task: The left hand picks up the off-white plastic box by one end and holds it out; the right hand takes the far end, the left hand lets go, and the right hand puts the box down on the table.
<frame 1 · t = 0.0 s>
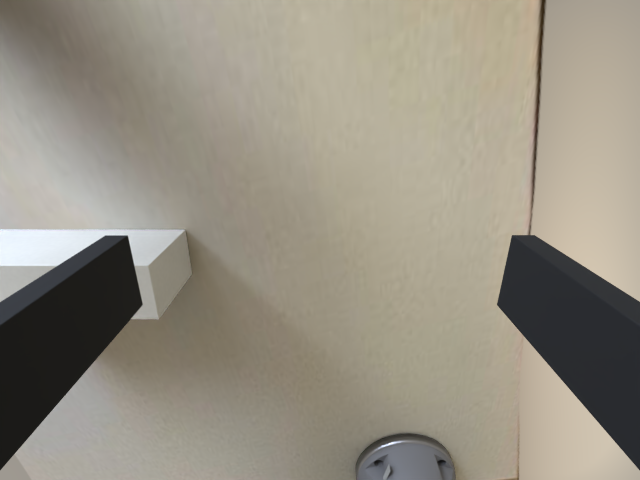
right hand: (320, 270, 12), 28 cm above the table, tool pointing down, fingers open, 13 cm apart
box: (97, 252, 43), on the table
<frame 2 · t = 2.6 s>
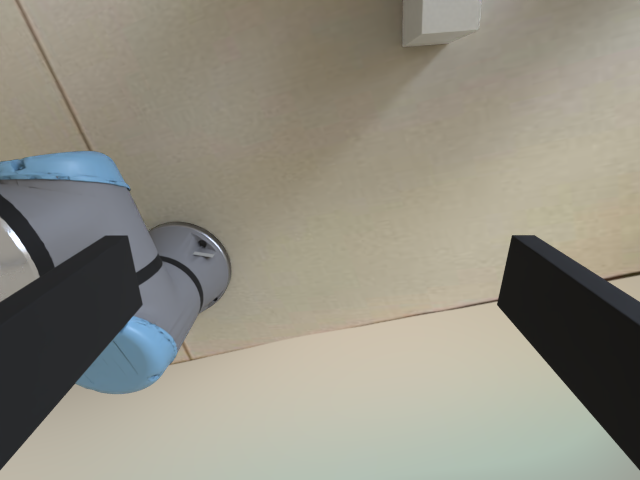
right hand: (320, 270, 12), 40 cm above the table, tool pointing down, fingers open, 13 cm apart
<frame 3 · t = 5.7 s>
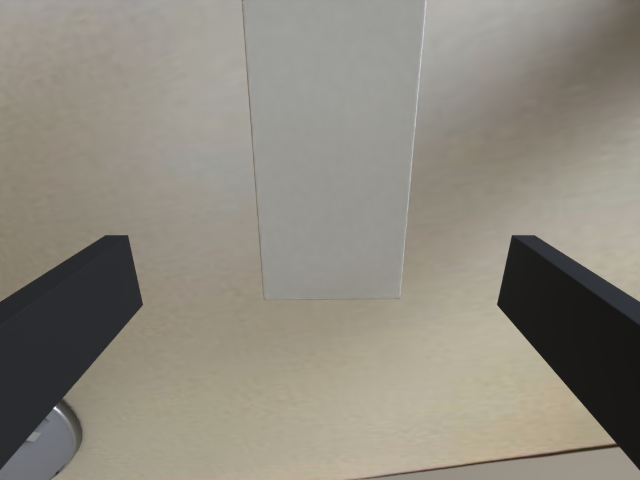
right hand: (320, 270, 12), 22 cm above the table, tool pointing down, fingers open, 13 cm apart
box: (326, 42, 20), point 10 cm above the table, touching left hand
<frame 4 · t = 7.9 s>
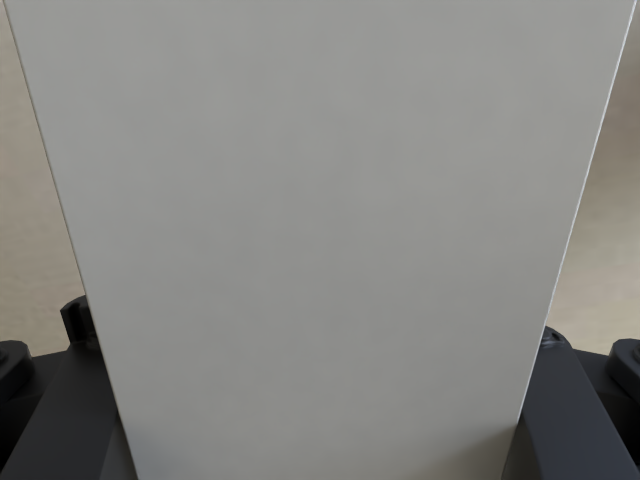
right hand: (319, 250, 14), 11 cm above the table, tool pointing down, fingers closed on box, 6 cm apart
box: (320, 15, 12), point 10 cm above the table, touching right hand, left hand
when the left hand's fingers open (15 cm above the table, at t = 8.7 s): box stays where it is, held by the right hand.
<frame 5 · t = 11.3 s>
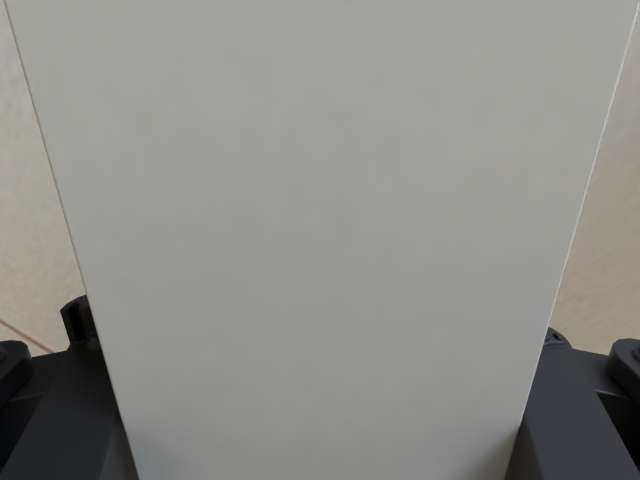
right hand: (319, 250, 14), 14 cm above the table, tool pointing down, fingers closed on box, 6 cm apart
box: (320, 13, 12), point 13 cm above the table, touching right hand
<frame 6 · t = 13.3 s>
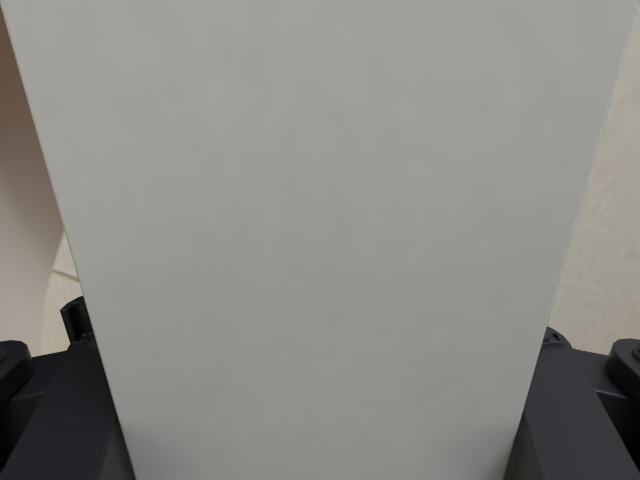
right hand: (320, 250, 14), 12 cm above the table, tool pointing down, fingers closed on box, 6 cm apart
box: (320, 12, 12), point 11 cm above the table, touching right hand
when the right hand's fingers open (2 cm above the table, at t = 14.9 s): box drops 1 cm, on the table.
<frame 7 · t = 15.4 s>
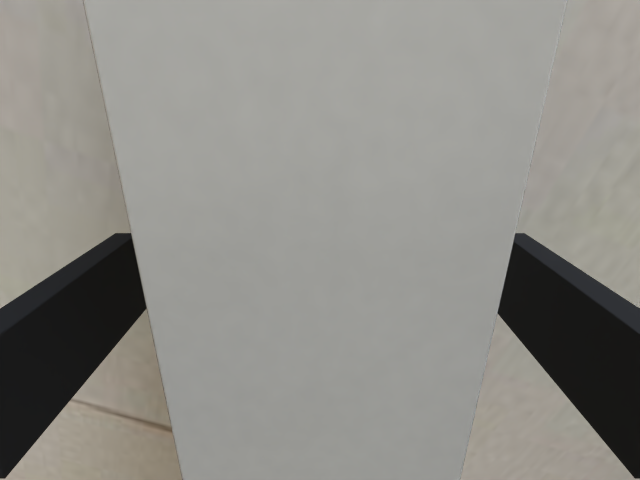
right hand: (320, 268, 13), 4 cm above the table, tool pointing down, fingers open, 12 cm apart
box: (321, 26, 13), on the table
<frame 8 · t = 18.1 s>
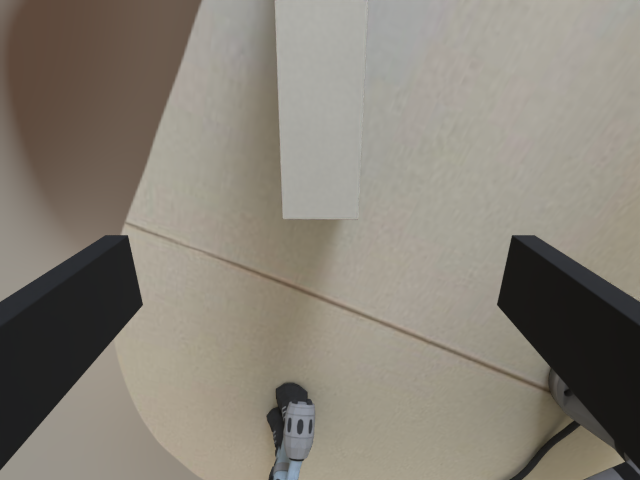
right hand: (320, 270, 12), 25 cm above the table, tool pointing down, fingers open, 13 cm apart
box: (320, 70, 32), on the table
robot: (288, 405, 47), on the table
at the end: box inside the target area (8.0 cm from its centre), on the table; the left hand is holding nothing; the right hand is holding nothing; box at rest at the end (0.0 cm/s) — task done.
